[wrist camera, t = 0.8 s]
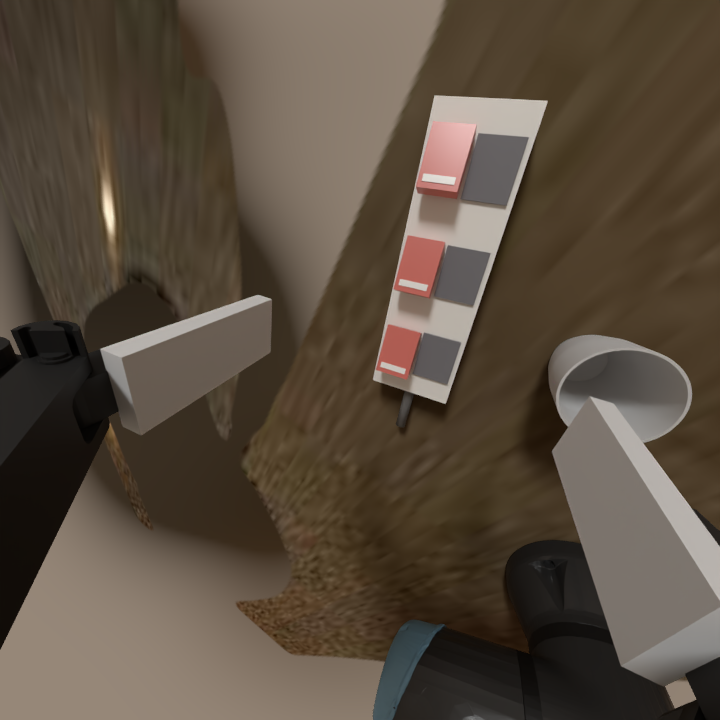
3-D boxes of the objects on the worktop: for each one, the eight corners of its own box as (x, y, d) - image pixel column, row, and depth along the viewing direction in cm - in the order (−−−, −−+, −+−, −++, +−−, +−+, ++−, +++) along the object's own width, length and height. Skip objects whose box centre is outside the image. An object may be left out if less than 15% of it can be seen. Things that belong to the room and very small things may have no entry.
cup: (570, 407, 33) (603, 462, 24) (518, 356, 33) (532, 391, 24) (648, 362, 29) (722, 408, 20) (588, 304, 29) (636, 324, 20)
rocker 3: (456, 199, 26) (456, 191, 25) (417, 193, 27) (415, 186, 26) (475, 135, 25) (476, 123, 24) (434, 131, 26) (432, 120, 25)
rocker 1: (430, 298, 30) (428, 297, 28) (396, 290, 30) (393, 288, 29) (445, 245, 29) (445, 241, 27) (410, 239, 30) (407, 235, 28)
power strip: (435, 428, 40) (431, 446, 36) (373, 406, 42) (363, 421, 38) (538, 121, 26) (548, 99, 23) (439, 115, 29) (434, 93, 25)
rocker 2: (408, 377, 33) (406, 379, 32) (378, 368, 34) (375, 369, 33) (421, 332, 32) (420, 333, 31) (390, 324, 33) (387, 324, 32)
